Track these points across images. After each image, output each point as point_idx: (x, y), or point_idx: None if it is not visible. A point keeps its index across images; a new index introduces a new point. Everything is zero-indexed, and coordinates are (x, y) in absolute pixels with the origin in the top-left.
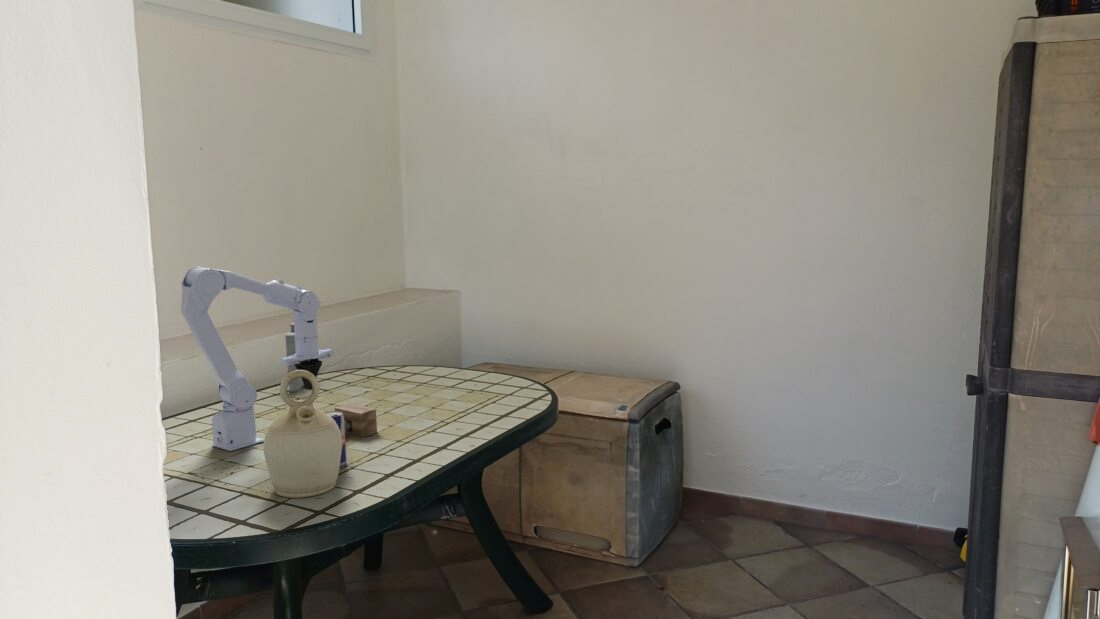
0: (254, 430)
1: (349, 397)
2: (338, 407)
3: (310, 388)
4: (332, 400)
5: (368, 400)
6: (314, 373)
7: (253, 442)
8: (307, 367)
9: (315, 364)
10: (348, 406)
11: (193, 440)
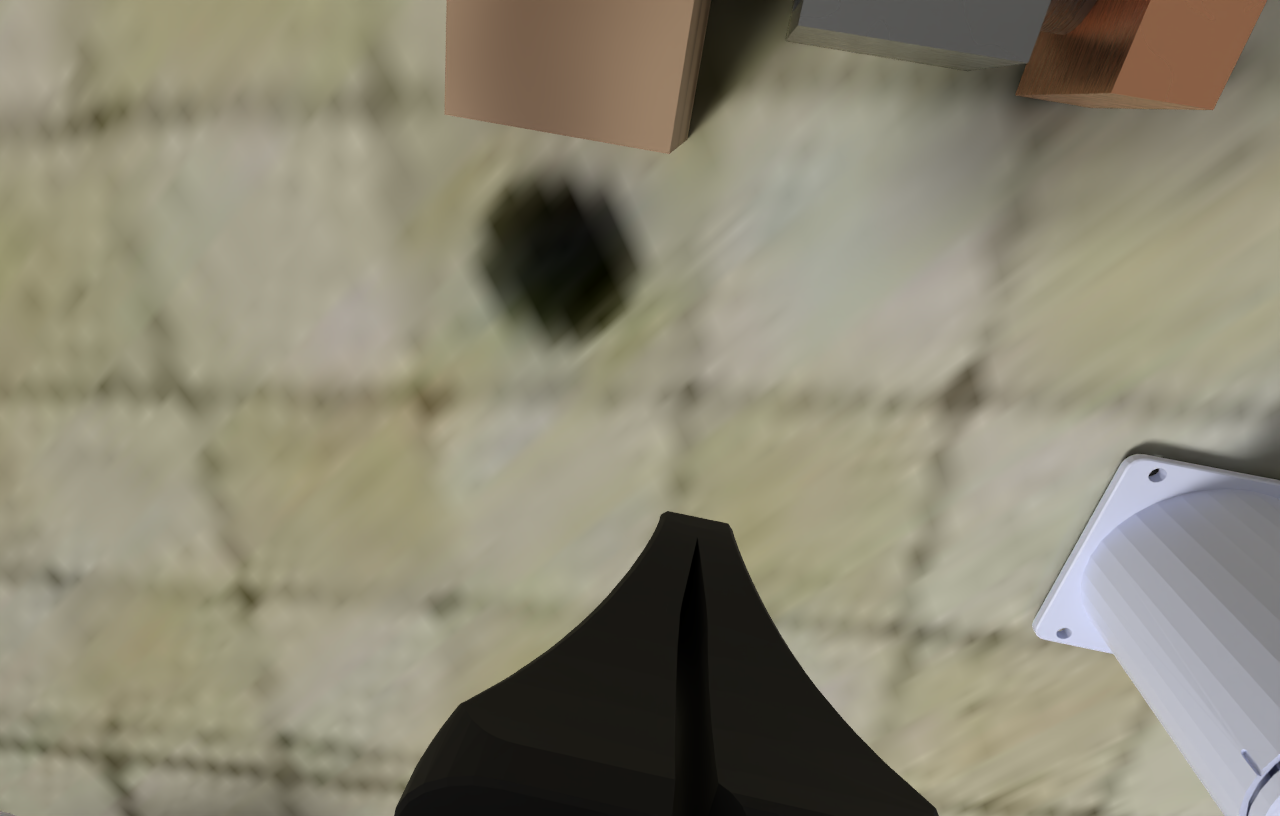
0: (1234, 543)
1: (93, 592)
2: (638, 116)
3: (730, 529)
4: (197, 637)
5: (38, 454)
6: (664, 644)
7: (1229, 479)
8: (928, 814)
9: (671, 785)
10: (548, 25)
11: (1164, 811)
